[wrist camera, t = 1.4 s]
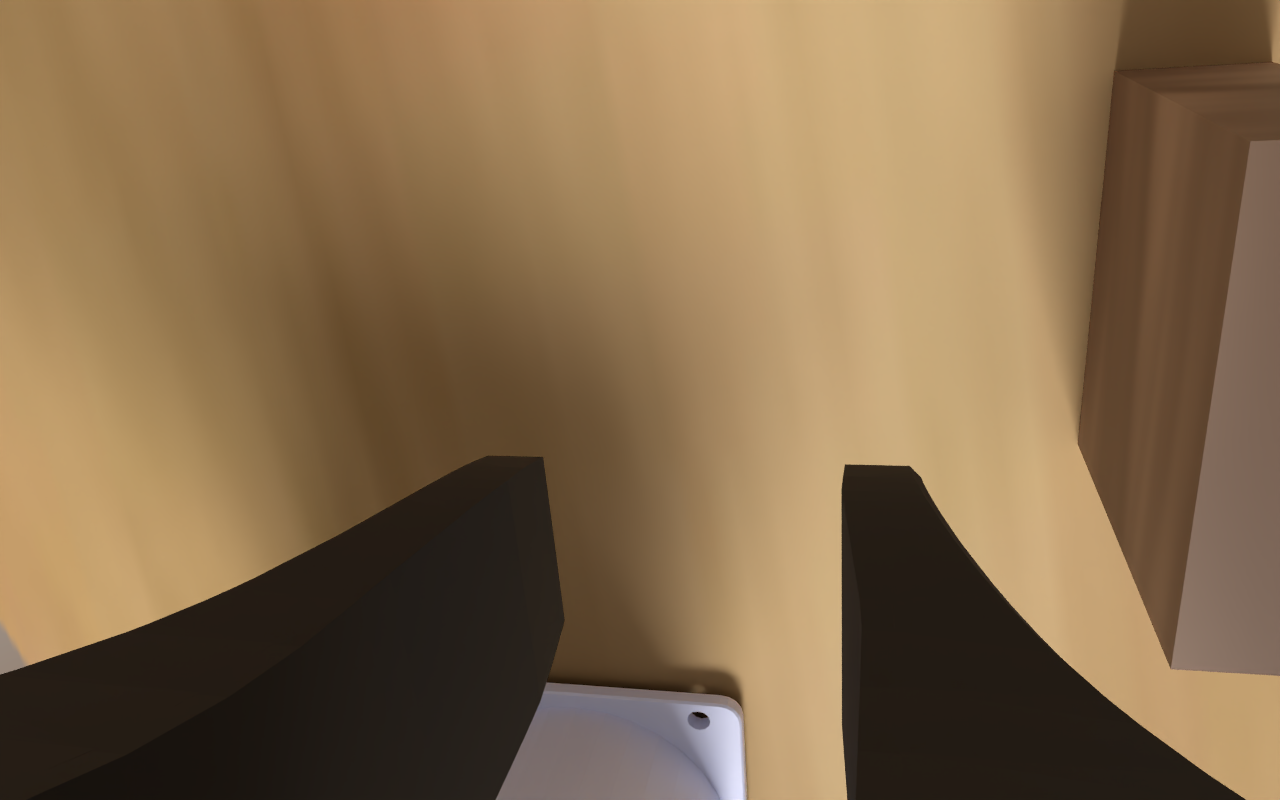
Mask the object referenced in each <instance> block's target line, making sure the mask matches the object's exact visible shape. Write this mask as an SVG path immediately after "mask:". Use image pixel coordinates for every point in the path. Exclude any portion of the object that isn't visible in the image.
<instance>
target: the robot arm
mask: <svg viewBox="0 0 1280 800" xmlns="http://www.w3.org/2000/svg"><path fill="white" fill-rule="evenodd" d="M563 624H564V613H563V605H562V597H561V590H560V582H559V575H558V567H557V559H556V552H555V544H554V537H553V529H552V522H551V514H550V506H549V499H548V491H547V484H546V476H545V469H544V461H543V457H517V456H487V457H484V458H481V459H479V460H476V461H474V462H472V463H469V464H467V465H465V466H463V467H461V468H459V469H457V470H455V471H453V472H451V473H450V474H448V475H446V476H444V477H442V478H440V479H438V480H437V481H435V482H433V483H431V484H429V485H427V486H426V487H424V488H422V489H420V490H418V491H417V492H415V493H413V494H411V495H410V496H408V497H406V498H404V499H402V500H401V501H399V502H397V503H395V504H394V505H392V506H390V507H388V508H386V509H385V510H383V511H381V512H379V513H377V514H376V515H374V516H372V517H370V518H369V519H367V520H365V521H363V522H361V523H360V524H358V525H356V526H354V527H352V528H351V529H349V530H347V531H345V532H343V533H342V534H340V535H338V536H336V537H334V538H332V539H330V540H328V541H326V542H324V543H322V544H320V545H318V546H316V547H314V548H312V549H310V550H308V551H307V552H305V553H303V554H301V555H299V556H297V557H295V558H293V559H291V560H289V561H287V562H285V563H283V564H281V565H279V566H277V567H275V568H273V569H271V570H269V571H268V572H266V573H264V574H262V575H260V576H258V577H256V578H254V579H251V580H249V581H247V582H245V583H243V584H241V585H239V586H237V587H234V588H232V589H230V590H228V591H226V592H223V593H221V594H219V595H217V596H214V597H212V598H210V599H208V600H205V601H203V602H201V603H198V604H196V605H193V606H191V607H188V608H186V609H184V610H181V611H179V612H176V613H174V614H171V615H169V616H167V617H164V618H162V619H159V620H157V621H154V622H152V623H149V624H147V625H144V626H142V627H139V628H136V629H134V630H131V631H129V632H126V633H123V634H120V635H117V636H114V637H111V638H108V639H105V640H102V641H100V642H97V643H94V644H91V645H88V646H85V647H82V648H79V649H76V650H73V651H70V652H67V653H64V654H61V655H58V656H55V657H53V658H50V659H47V660H44V661H41V662H38V663H35V664H32V665H29V666H26V667H23V668H20V669H17V670H14V671H11V672H8V673H4V674H1V675H0V800H747V781H746V761H745V740H744V720H743V711H742V708H741V706H740V705H739V704H738V703H737V702H736V701H735V700H733V699H732V698H730V697H727V696H722V695H712V694H698V693H684V692H671V691H657V690H643V689H629V688H616V687H602V686H588V685H574V684H561V683H547V679H548V676H549V673H550V670H551V667H552V663H553V660H554V656H555V652H556V649H557V645H558V642H559V638H560V635H561V631H562V628H563ZM692 712H702V713H704V714H705V715H707V716H708V718H699V717H696V716H695V715H693V714H692ZM842 730H843V745H844V759H845V773H846V787H847V800H1246V799H1244V798H1243V797H1241V796H1240V795H1238V794H1237V793H1235V792H1234V791H1232V790H1230V789H1229V788H1227V787H1226V786H1224V785H1223V784H1221V783H1220V782H1218V781H1217V780H1215V779H1214V778H1212V777H1211V776H1209V775H1208V774H1207V773H1205V772H1204V771H1202V770H1201V769H1200V768H1198V767H1197V766H1195V765H1194V764H1193V763H1191V762H1190V761H1189V760H1187V759H1186V758H1185V757H1183V756H1182V755H1180V754H1179V753H1178V752H1176V751H1175V750H1174V749H1172V748H1171V747H1169V746H1168V745H1167V744H1165V743H1164V742H1163V741H1161V740H1160V739H1159V738H1157V737H1156V736H1154V735H1153V734H1152V733H1150V732H1149V731H1148V730H1146V729H1145V728H1143V727H1142V726H1141V725H1139V724H1138V723H1137V722H1136V721H1134V720H1133V719H1132V718H1131V717H1129V716H1128V715H1127V714H1126V713H1124V712H1123V711H1122V710H1121V709H1119V708H1118V707H1117V706H1116V705H1114V704H1113V703H1112V702H1111V701H1109V700H1108V699H1107V698H1106V697H1105V696H1103V695H1102V694H1101V693H1100V692H1099V691H1098V690H1097V689H1095V688H1094V687H1093V686H1092V685H1091V684H1090V683H1089V682H1088V681H1086V680H1085V679H1084V678H1083V677H1082V676H1081V675H1080V674H1078V673H1077V672H1076V671H1075V670H1074V669H1073V668H1072V667H1071V666H1069V665H1068V664H1067V663H1066V662H1065V661H1064V660H1063V659H1062V658H1061V657H1060V656H1059V655H1058V654H1057V653H1056V652H1055V651H1054V650H1053V649H1052V648H1051V647H1050V646H1049V645H1048V644H1047V643H1046V642H1045V641H1044V640H1043V639H1042V638H1041V637H1040V636H1039V635H1038V634H1037V633H1036V632H1035V631H1034V630H1033V629H1032V627H1031V626H1030V625H1029V624H1028V623H1027V622H1026V621H1025V620H1024V619H1023V618H1022V617H1021V616H1020V614H1019V613H1018V612H1017V611H1016V610H1015V609H1014V608H1013V607H1012V606H1011V605H1010V603H1009V602H1008V601H1007V600H1006V599H1005V598H1004V596H1003V595H1002V594H1001V593H1000V592H999V591H998V589H997V588H996V587H995V586H994V585H993V583H992V582H991V581H990V580H989V578H988V577H987V576H986V575H985V573H984V572H983V571H982V569H981V568H980V567H979V566H978V564H977V563H976V562H975V560H974V559H973V558H972V557H971V555H970V554H969V553H968V551H967V550H966V549H965V548H964V546H963V545H962V544H961V542H960V541H959V539H958V538H957V537H956V535H955V534H954V532H953V531H952V529H951V528H950V526H949V525H948V523H947V522H946V520H945V519H944V517H943V516H942V514H941V513H940V511H939V510H938V508H937V507H936V505H935V503H934V502H933V500H932V498H931V497H930V495H929V493H928V491H927V489H926V487H925V485H924V483H923V481H922V479H921V477H920V476H919V475H918V474H917V473H916V472H915V471H914V470H913V469H912V468H911V467H910V466H884V465H845V468H844V475H843V483H842Z"/></svg>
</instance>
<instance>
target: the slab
mask: <svg viewBox="0 0 1280 800" xmlns="http://www.w3.org/2000/svg"><path fill="white" fill-rule="evenodd" d="M1078 446H1079V448H1080V450H1081V453H1082V455H1083V458H1084V460H1085V462H1086V465H1087V467H1088V470H1089V472H1090V475H1091V477H1092V479H1093V482H1094V484H1095V487H1096V489H1097V492H1098V494H1099V496H1100V499H1101V501H1102V504H1103V506H1104V508H1105V511H1106V513H1107V516H1108V518H1109V521H1110V523H1111V525H1112V528H1113V530H1114V533H1115V535H1116V538H1117V540H1118V542H1119V545H1120V547H1121V550H1122V552H1123V554H1124V557H1125V559H1126V562H1127V564H1128V567H1129V569H1130V571H1131V574H1132V576H1133V579H1134V581H1135V584H1136V586H1137V588H1138V591H1139V593H1140V596H1141V598H1142V600H1143V603H1144V605H1145V608H1146V610H1147V613H1148V615H1149V617H1150V620H1151V622H1152V625H1153V627H1154V630H1155V632H1156V634H1157V637H1158V639H1159V642H1160V644H1161V647H1162V649H1163V651H1164V654H1165V656H1166V659H1167V661H1168V663H1169V666H1170V668H1171V669H1177V670H1193V671H1210V672H1226V673H1243V674H1259V675H1276V676H1280V64H1277V63H1273V62H1264V63H1246V64H1228V65H1210V66H1193V67H1175V68H1157V69H1139V70H1122V71H1114V79H1113V89H1112V99H1111V109H1110V120H1109V130H1108V140H1107V151H1106V161H1105V171H1104V181H1103V192H1102V202H1101V212H1100V222H1099V233H1098V243H1097V253H1096V264H1095V274H1094V284H1093V294H1092V305H1091V315H1090V325H1089V335H1088V346H1087V356H1086V366H1085V377H1084V387H1083V397H1082V407H1081V418H1080V428H1079V438H1078Z"/></svg>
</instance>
